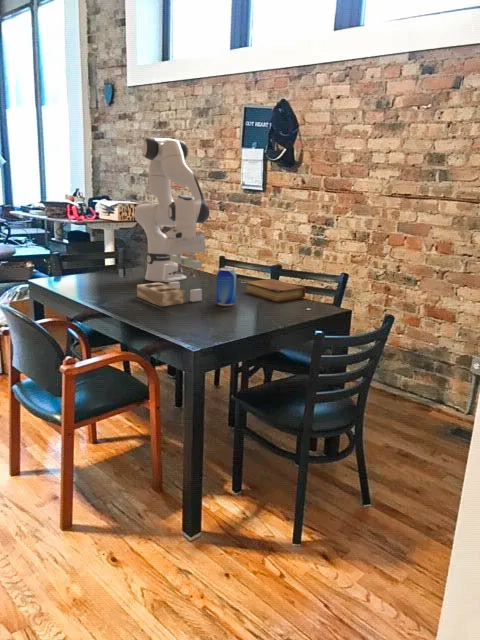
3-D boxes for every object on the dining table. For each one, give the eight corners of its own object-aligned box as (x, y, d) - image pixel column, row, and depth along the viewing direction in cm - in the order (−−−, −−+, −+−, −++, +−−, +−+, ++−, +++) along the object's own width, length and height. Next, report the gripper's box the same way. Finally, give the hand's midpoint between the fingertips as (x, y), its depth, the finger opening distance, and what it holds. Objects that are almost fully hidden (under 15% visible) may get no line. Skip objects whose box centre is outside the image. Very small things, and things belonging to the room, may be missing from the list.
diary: (304, 298, 254) (305, 287, 253) (276, 303, 243) (277, 291, 241) (272, 289, 271) (273, 278, 270) (244, 293, 259) (245, 281, 258)
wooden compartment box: (160, 295, 245) (160, 282, 244) (184, 304, 231) (184, 290, 229) (137, 297, 238) (137, 284, 236) (160, 307, 223) (161, 293, 221)
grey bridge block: (176, 270, 248) (176, 254, 246) (201, 279, 234) (201, 261, 232) (170, 271, 246) (170, 254, 244) (195, 280, 232) (195, 262, 230)
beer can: (237, 303, 235) (239, 268, 231) (231, 308, 228) (232, 271, 223) (220, 301, 238) (221, 266, 234) (213, 305, 230) (214, 269, 226)
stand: (177, 292, 251) (177, 281, 249) (201, 301, 237) (202, 289, 235) (168, 294, 248) (168, 282, 246) (192, 302, 234) (192, 290, 232)
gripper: (200, 230, 243) (199, 259, 247) (162, 232, 230) (162, 264, 234) (208, 231, 239) (208, 262, 243) (170, 234, 226) (170, 266, 230)
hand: (185, 263), depth 239 cm, fingers closed on grey bridge block, 3 cm apart
